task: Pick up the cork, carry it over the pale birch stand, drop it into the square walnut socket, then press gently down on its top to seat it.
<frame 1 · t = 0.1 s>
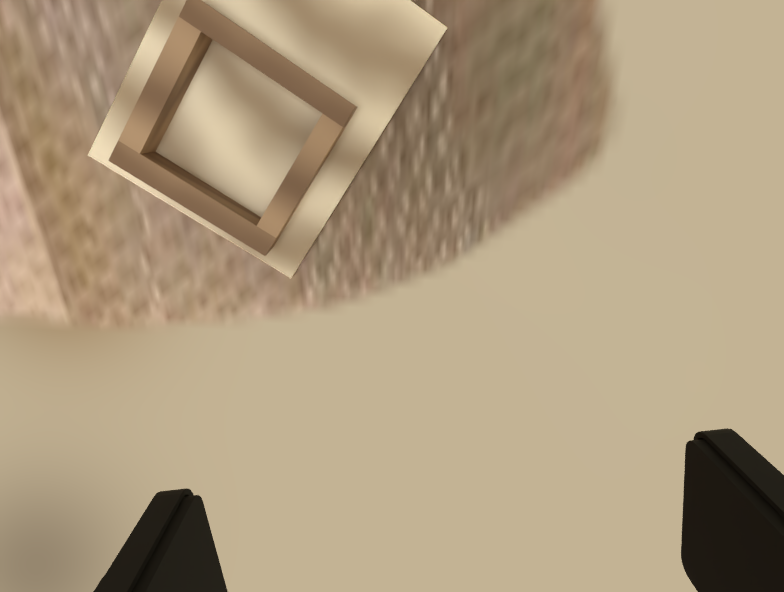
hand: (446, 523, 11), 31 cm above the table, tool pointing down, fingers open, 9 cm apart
socket stand: (265, 94, 37), on the table
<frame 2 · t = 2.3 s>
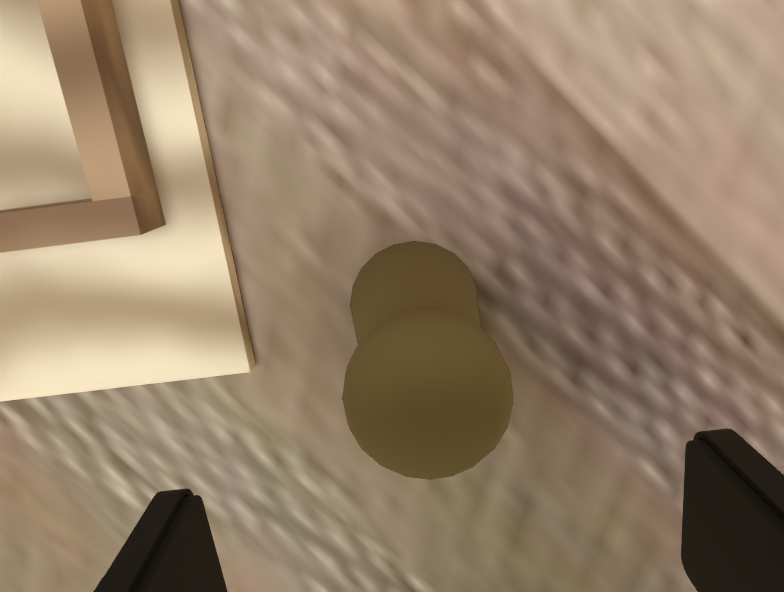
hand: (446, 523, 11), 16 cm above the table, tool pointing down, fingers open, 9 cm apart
cork: (414, 303, 26), on the table
socket stand: (31, 175, 24), on the table
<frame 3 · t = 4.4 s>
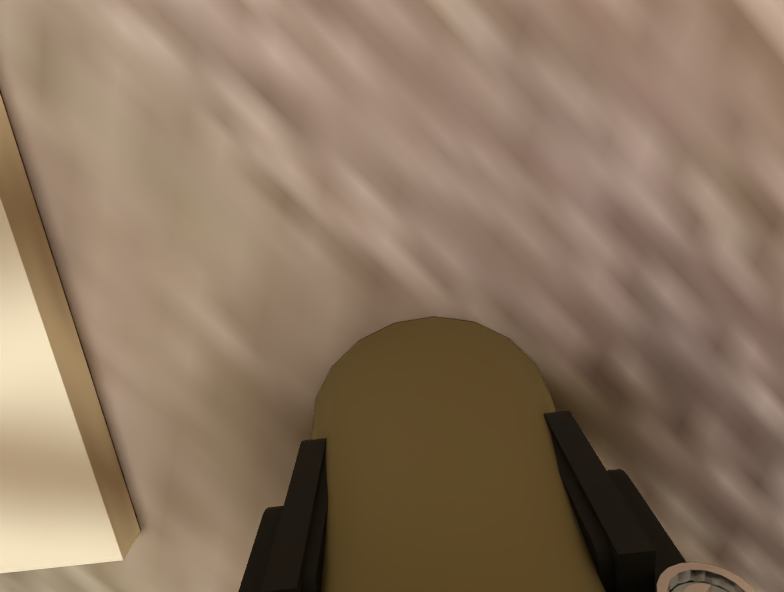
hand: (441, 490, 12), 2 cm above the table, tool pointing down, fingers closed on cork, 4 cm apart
cork: (432, 426, 14), on the table, touching gripper
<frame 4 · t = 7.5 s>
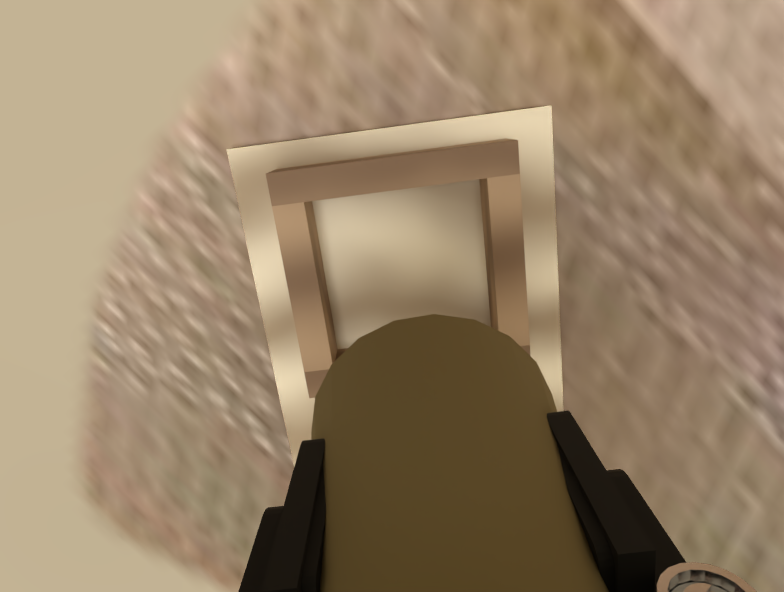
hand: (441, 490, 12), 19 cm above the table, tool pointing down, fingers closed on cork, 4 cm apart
cork: (432, 424, 14), point 17 cm above the table, touching gripper
socket stand: (410, 312, 31), on the table
when the fingers open (7 cm above the table, at t = 10.6 s): cork drops 3 cm, resting on socket stand.
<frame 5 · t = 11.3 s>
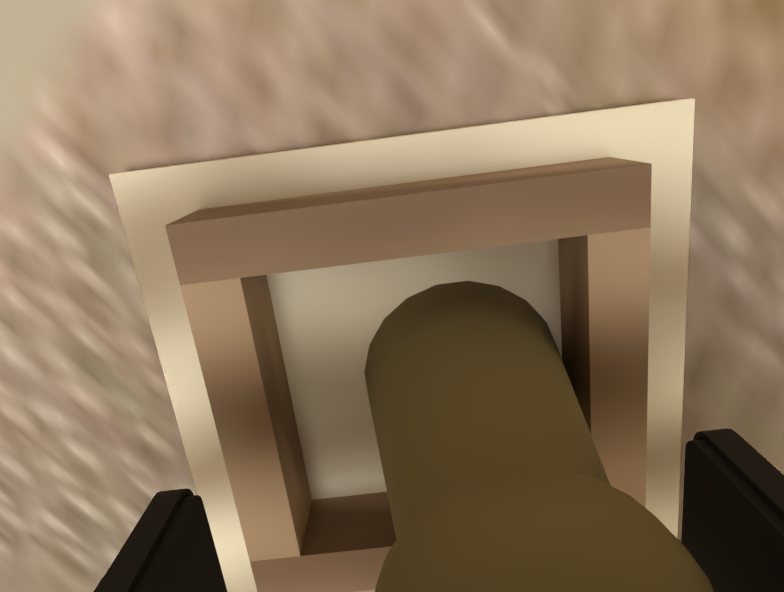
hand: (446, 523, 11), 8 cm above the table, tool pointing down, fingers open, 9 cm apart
cork: (460, 371, 17), point 1 cm above the table, touching socket stand
socket stand: (431, 437, 19), on the table
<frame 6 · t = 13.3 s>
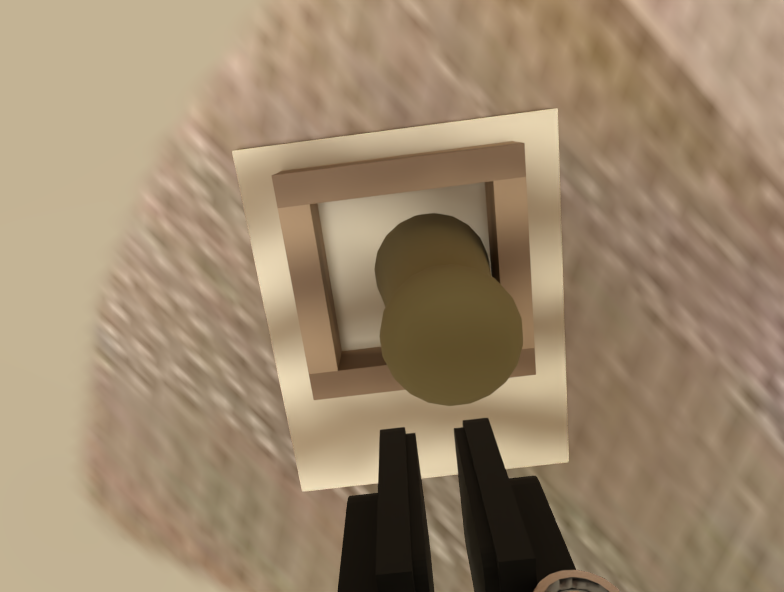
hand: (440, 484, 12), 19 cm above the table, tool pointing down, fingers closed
cork: (431, 269, 29), point 1 cm above the table, touching socket stand
socket stand: (415, 314, 31), on the table
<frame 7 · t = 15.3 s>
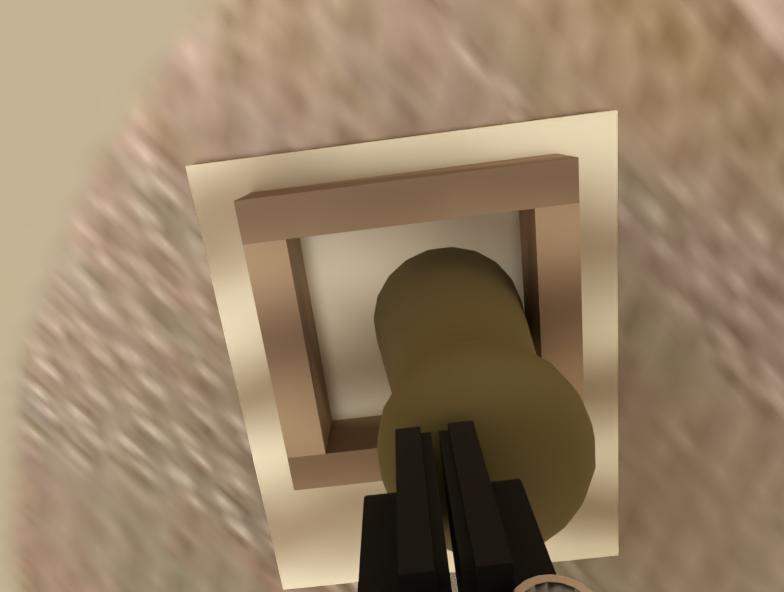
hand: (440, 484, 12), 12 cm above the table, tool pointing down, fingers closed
cork: (447, 318, 23), point 1 cm above the table, touching gripper, socket stand
socket stand: (425, 373, 24), on the table
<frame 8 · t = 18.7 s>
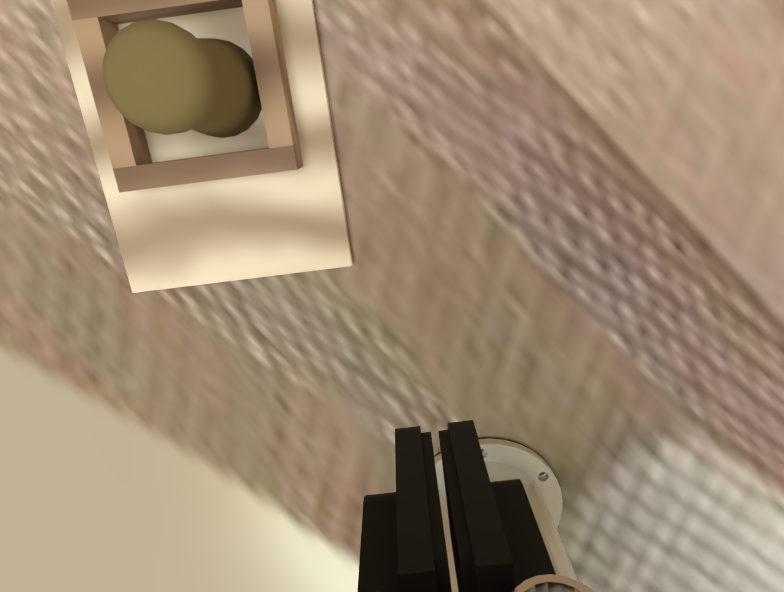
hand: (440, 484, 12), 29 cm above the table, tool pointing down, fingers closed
cork: (219, 89, 36), point 1 cm above the table, touching socket stand
socket stand: (214, 135, 37), on the table
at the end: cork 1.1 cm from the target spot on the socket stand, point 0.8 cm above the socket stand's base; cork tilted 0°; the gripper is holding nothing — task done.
